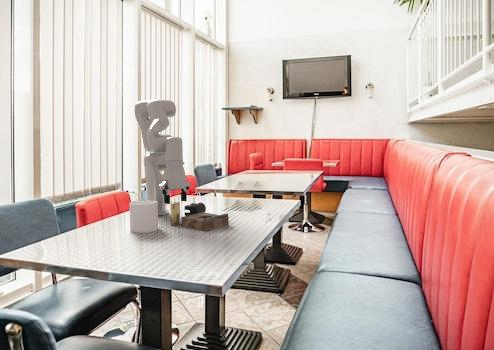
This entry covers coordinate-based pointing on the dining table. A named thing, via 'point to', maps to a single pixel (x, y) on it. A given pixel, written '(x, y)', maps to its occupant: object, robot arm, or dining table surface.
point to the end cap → (195, 208)
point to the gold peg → (175, 213)
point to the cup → (143, 216)
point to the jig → (205, 221)
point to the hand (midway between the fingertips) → (175, 202)
